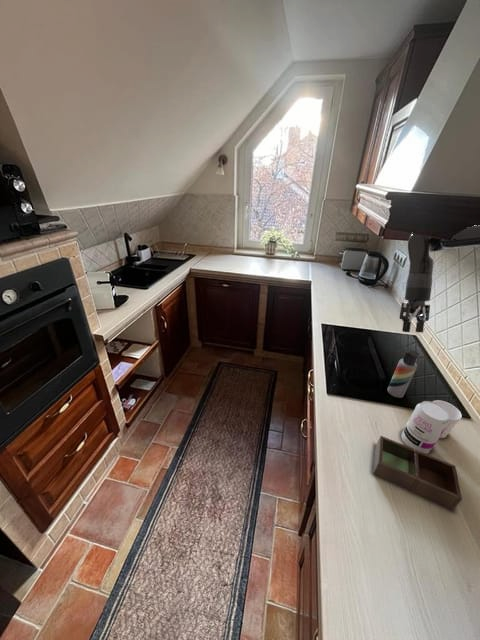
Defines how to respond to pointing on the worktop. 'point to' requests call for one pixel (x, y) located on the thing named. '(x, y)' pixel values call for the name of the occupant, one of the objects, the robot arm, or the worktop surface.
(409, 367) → the lotion bottle
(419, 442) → the supplement can
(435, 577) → the worktop surface
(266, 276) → the worktop surface
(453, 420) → the white cup
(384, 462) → the caddy
